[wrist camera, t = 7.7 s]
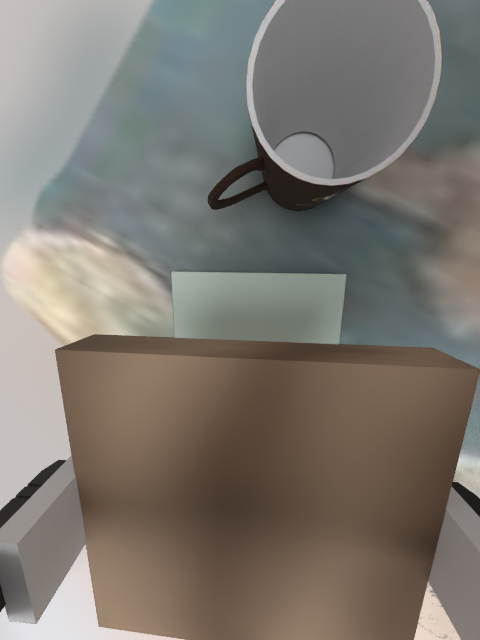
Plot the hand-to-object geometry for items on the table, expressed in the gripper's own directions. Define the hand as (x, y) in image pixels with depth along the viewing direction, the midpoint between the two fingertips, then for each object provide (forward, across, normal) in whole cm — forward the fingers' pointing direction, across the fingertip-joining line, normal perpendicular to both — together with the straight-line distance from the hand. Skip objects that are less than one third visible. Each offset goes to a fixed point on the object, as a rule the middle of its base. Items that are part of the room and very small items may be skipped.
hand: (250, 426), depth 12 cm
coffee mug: (+13, -2, -16) cm, 21 cm away
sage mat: (+12, 0, 0) cm, 12 cm away
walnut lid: (-3, 0, 0) cm, 3 cm away
